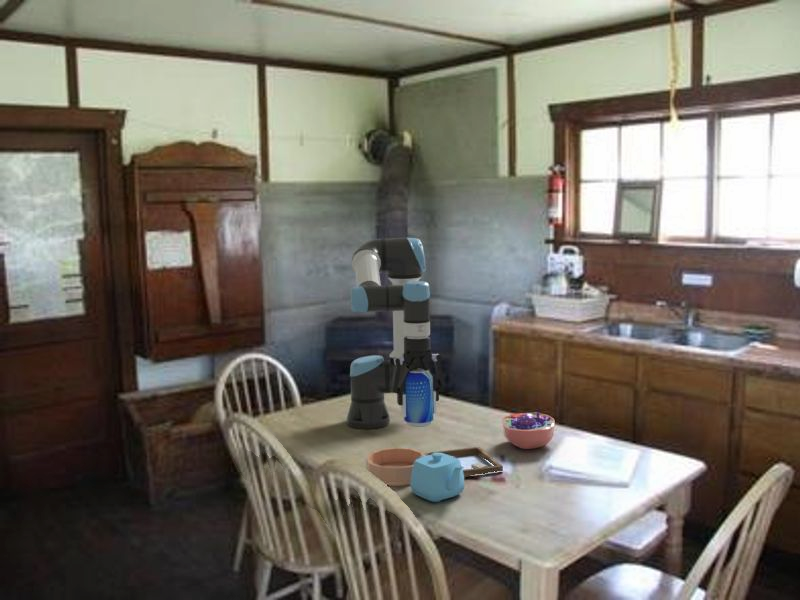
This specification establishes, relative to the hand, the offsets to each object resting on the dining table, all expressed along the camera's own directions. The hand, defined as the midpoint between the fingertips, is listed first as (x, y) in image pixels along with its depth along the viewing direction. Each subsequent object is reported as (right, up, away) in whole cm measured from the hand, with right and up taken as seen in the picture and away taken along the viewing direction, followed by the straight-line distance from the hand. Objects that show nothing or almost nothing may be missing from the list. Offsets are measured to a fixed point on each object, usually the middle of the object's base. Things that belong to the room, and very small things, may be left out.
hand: (418, 413), depth 220 cm
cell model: (+35, -14, +22) cm, 44 cm away
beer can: (0, -3, 0) cm, 3 cm away
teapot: (+6, -20, -16) cm, 26 cm away
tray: (+13, -16, +6) cm, 22 cm away
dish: (-6, -17, +1) cm, 18 cm away
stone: (+18, -17, +1) cm, 25 cm away
